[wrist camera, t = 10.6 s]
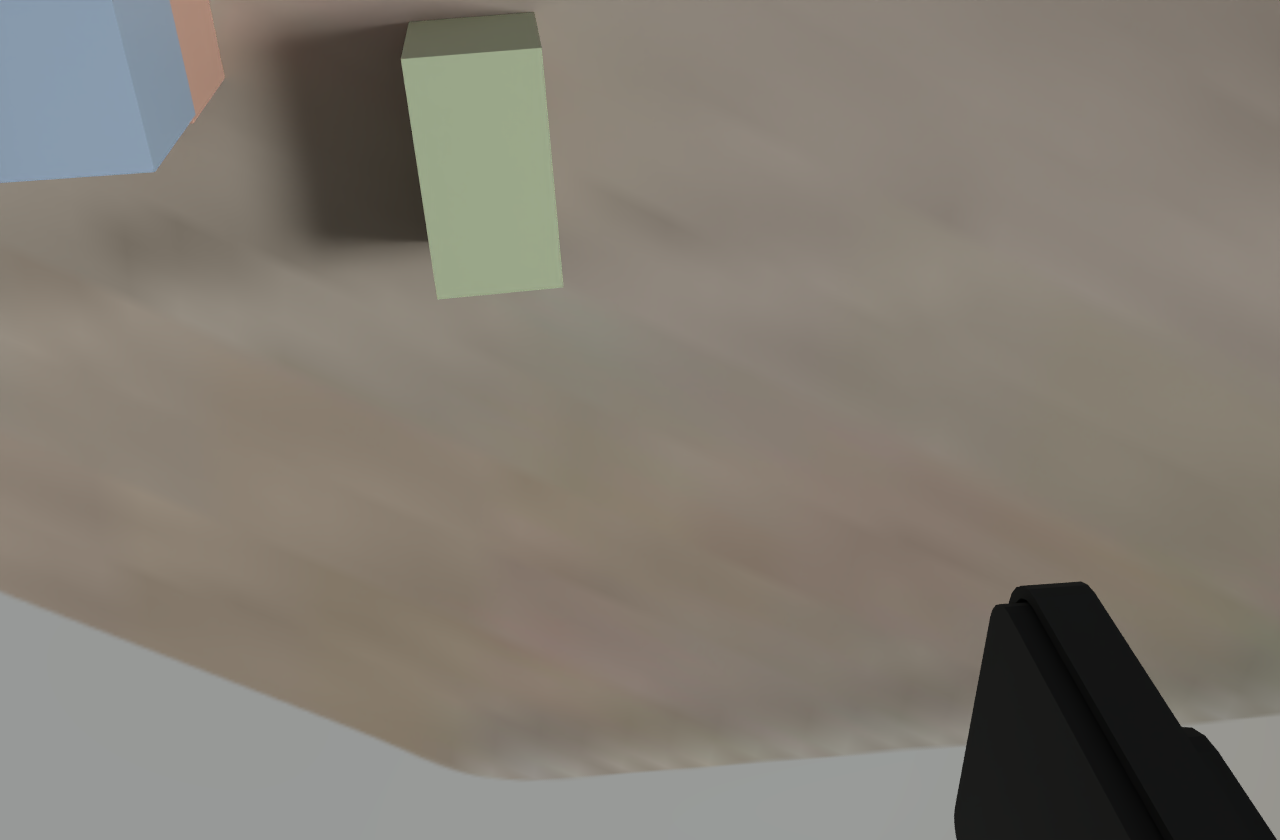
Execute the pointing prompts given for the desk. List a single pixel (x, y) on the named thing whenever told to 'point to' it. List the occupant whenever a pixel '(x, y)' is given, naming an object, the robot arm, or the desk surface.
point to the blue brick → (89, 88)
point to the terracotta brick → (198, 50)
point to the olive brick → (483, 153)
